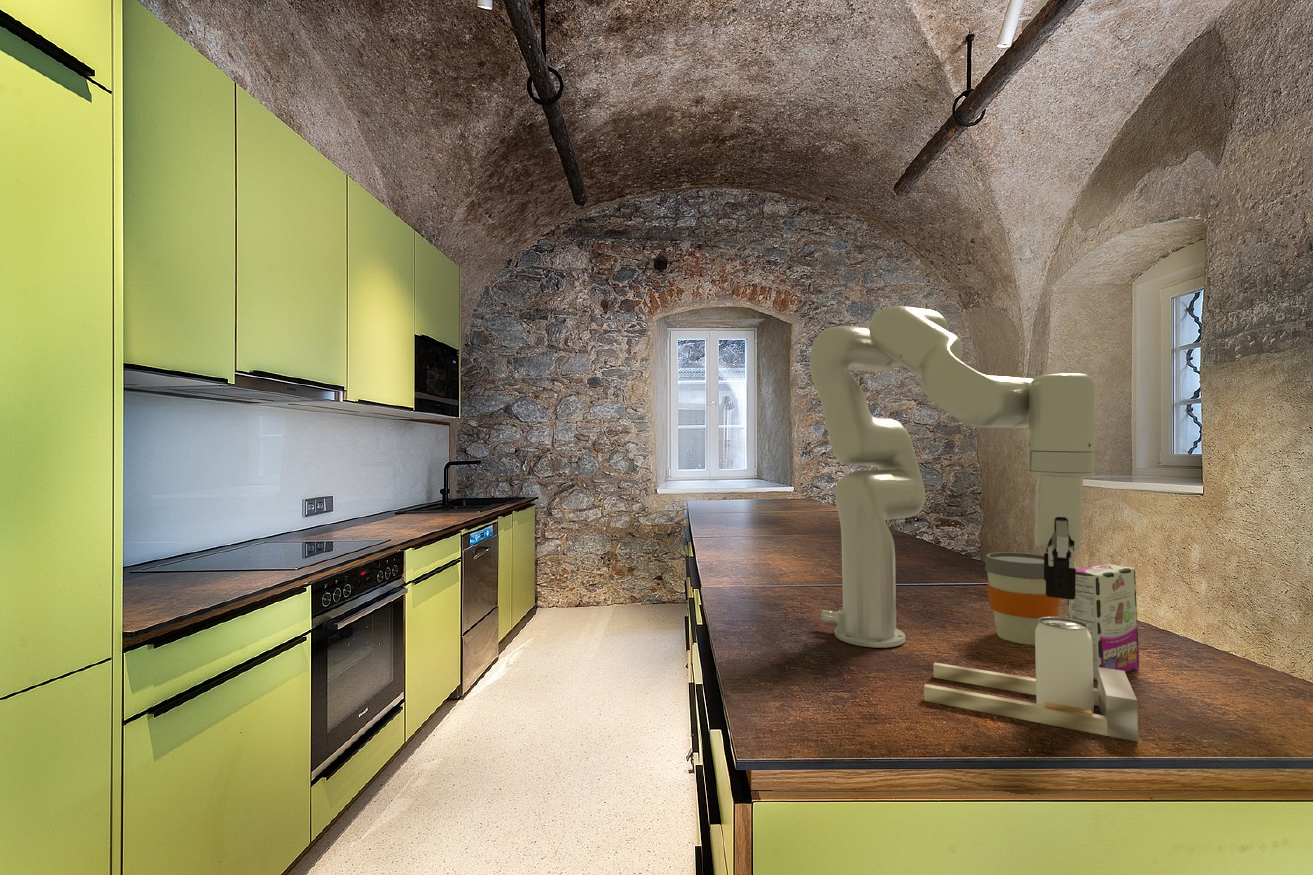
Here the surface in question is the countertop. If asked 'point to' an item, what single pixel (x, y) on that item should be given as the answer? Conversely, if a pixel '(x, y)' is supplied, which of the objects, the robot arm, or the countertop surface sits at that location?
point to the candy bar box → (1108, 615)
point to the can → (1064, 663)
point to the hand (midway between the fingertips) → (1058, 589)
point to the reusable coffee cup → (1018, 595)
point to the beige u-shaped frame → (1109, 696)
